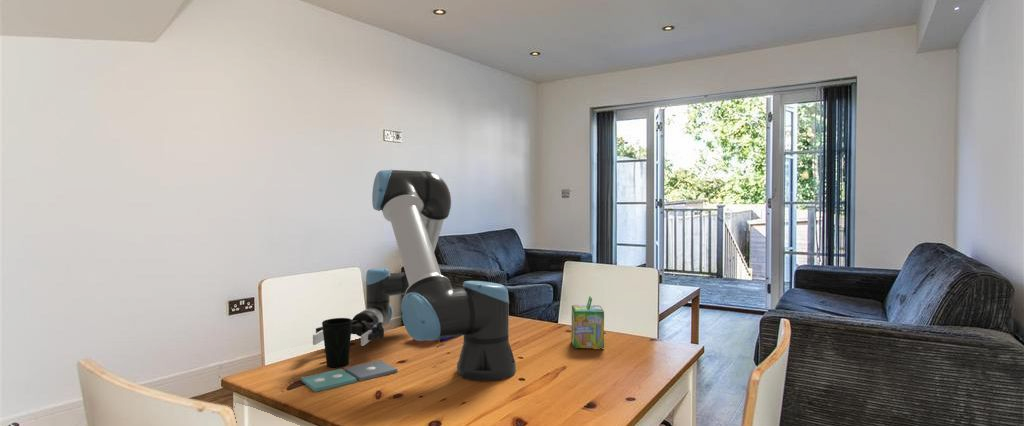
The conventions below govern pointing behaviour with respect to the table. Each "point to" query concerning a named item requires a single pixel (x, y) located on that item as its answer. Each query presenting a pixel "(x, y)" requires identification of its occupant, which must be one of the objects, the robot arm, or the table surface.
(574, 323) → the green printed box
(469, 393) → the table surface
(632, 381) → the table surface
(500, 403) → the table surface
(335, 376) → the tile two
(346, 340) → the cup
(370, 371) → the tile one
